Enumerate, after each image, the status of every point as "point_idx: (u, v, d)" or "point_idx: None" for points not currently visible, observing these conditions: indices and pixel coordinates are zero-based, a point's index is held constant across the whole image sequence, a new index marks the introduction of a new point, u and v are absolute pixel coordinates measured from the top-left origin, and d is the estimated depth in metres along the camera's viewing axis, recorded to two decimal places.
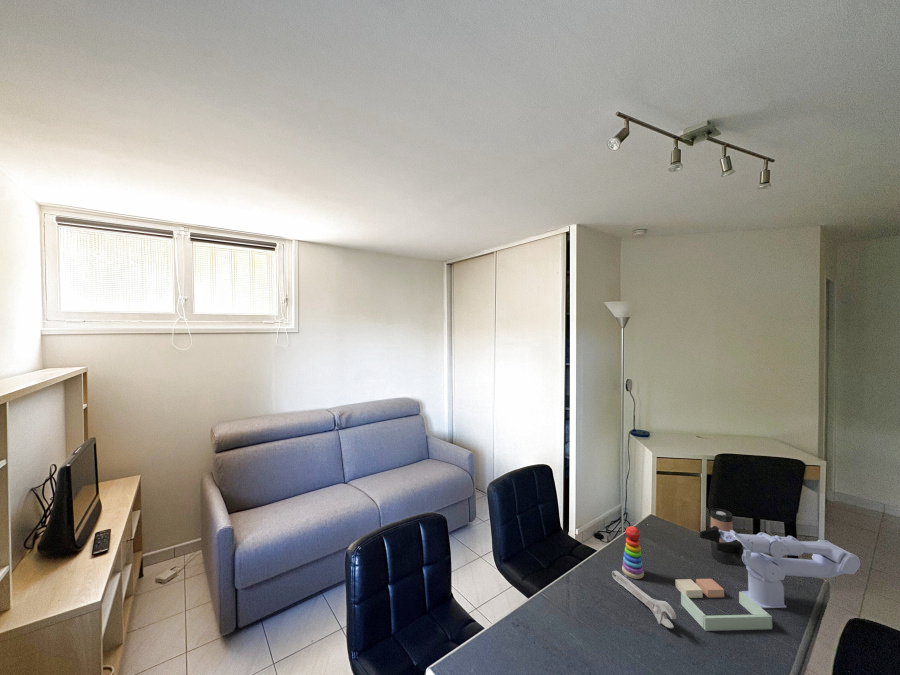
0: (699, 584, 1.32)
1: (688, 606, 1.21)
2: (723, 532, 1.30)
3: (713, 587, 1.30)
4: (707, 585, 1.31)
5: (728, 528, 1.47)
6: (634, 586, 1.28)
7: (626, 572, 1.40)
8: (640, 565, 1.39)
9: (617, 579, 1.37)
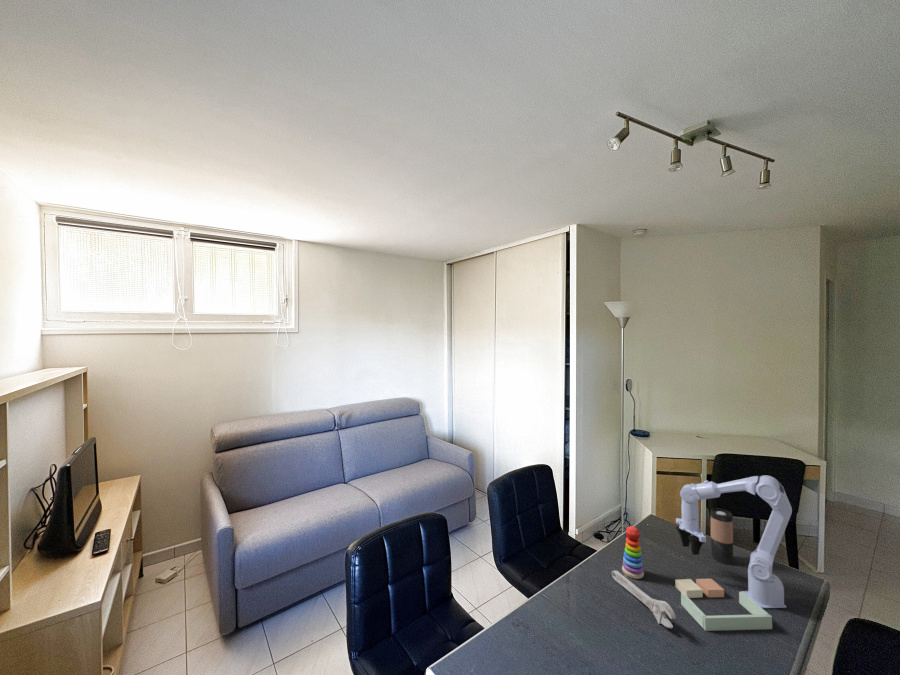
0: (699, 584, 1.32)
1: (688, 606, 1.21)
2: None
3: (713, 587, 1.30)
4: (707, 585, 1.30)
5: (728, 528, 1.47)
6: (634, 586, 1.29)
7: (626, 572, 1.40)
8: (640, 565, 1.39)
9: (617, 579, 1.37)
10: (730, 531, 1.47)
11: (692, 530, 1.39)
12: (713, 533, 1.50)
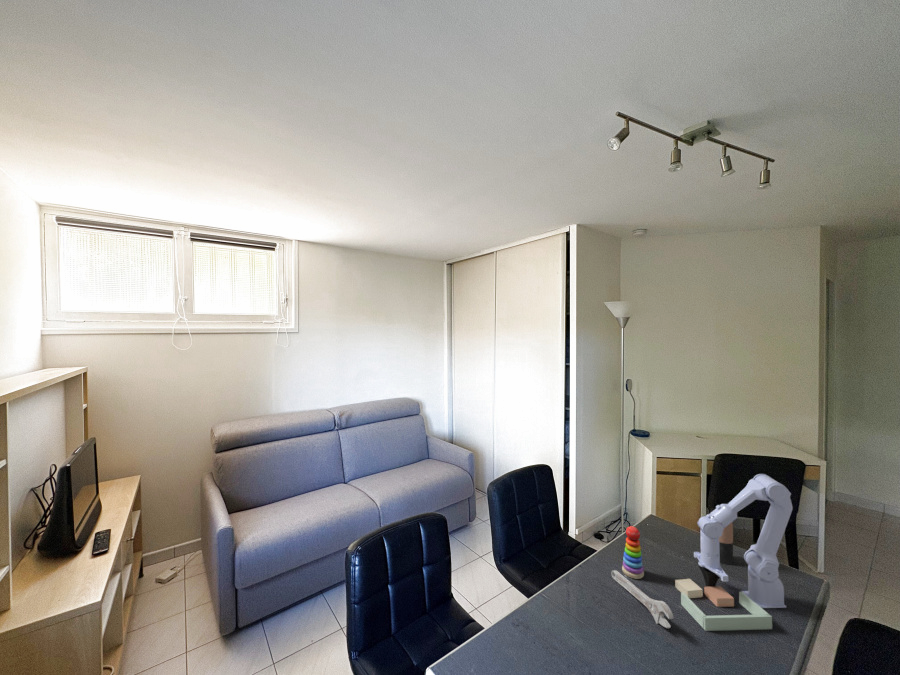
0: (708, 592, 1.28)
1: (688, 606, 1.21)
2: None
3: (722, 595, 1.25)
4: (716, 593, 1.26)
5: (728, 528, 1.47)
6: (633, 586, 1.29)
7: (626, 572, 1.40)
8: (640, 565, 1.39)
9: (616, 579, 1.37)
10: (730, 531, 1.47)
11: (713, 567, 1.28)
12: None
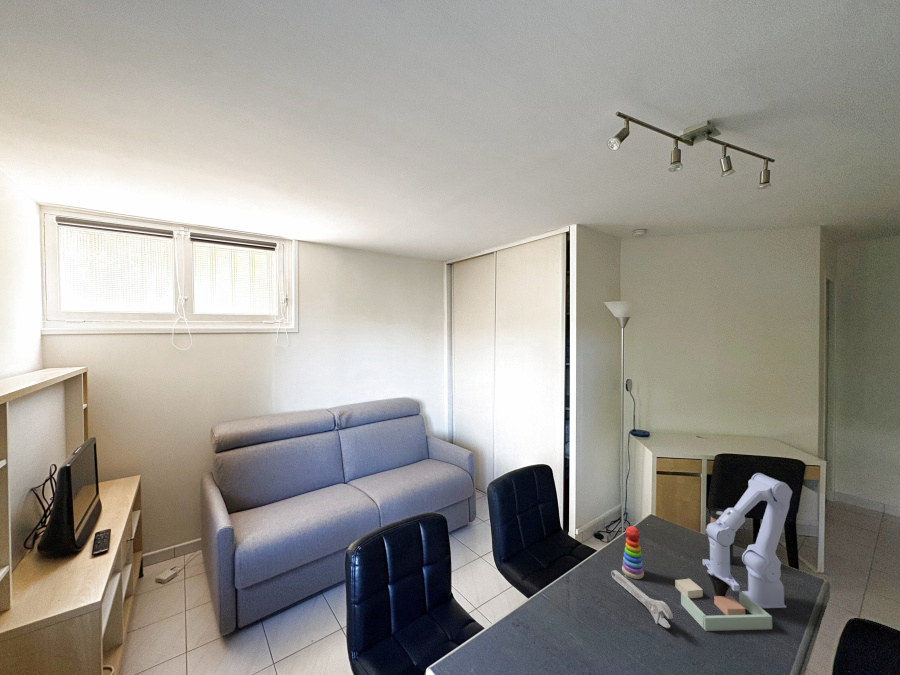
0: (718, 602, 1.23)
1: (688, 606, 1.21)
2: None
3: (733, 605, 1.21)
4: (727, 603, 1.21)
5: None
6: (633, 586, 1.29)
7: (626, 572, 1.40)
8: (640, 565, 1.39)
9: (616, 579, 1.37)
10: None
11: (723, 576, 1.24)
12: None
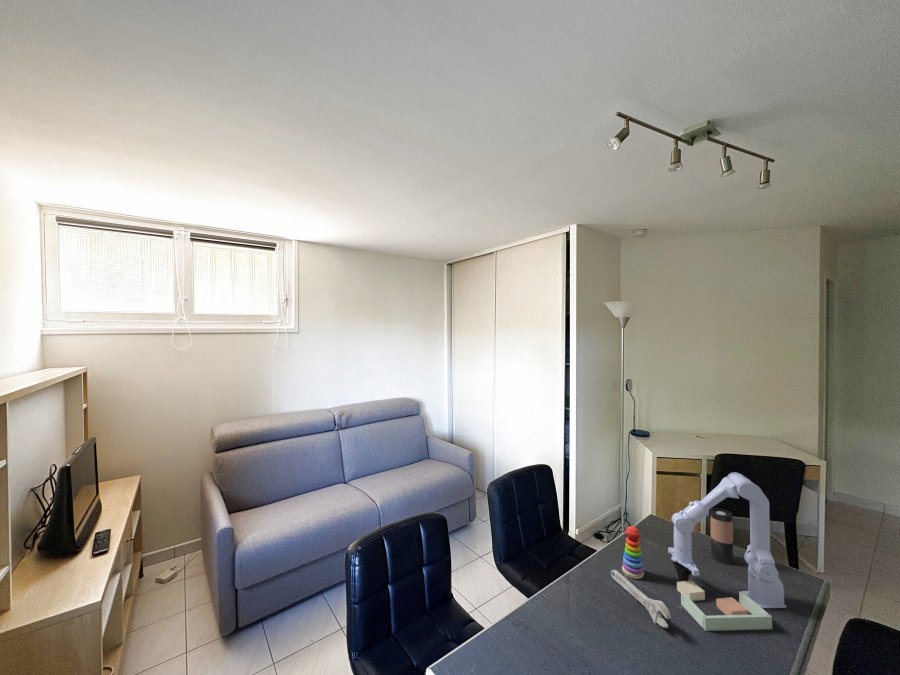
0: (720, 604, 1.22)
1: (688, 606, 1.21)
2: None
3: (736, 607, 1.20)
4: (730, 606, 1.20)
5: (728, 528, 1.47)
6: (631, 585, 1.29)
7: (626, 572, 1.40)
8: (640, 565, 1.39)
9: (616, 578, 1.37)
10: (730, 531, 1.47)
11: (685, 562, 1.31)
12: (713, 533, 1.50)
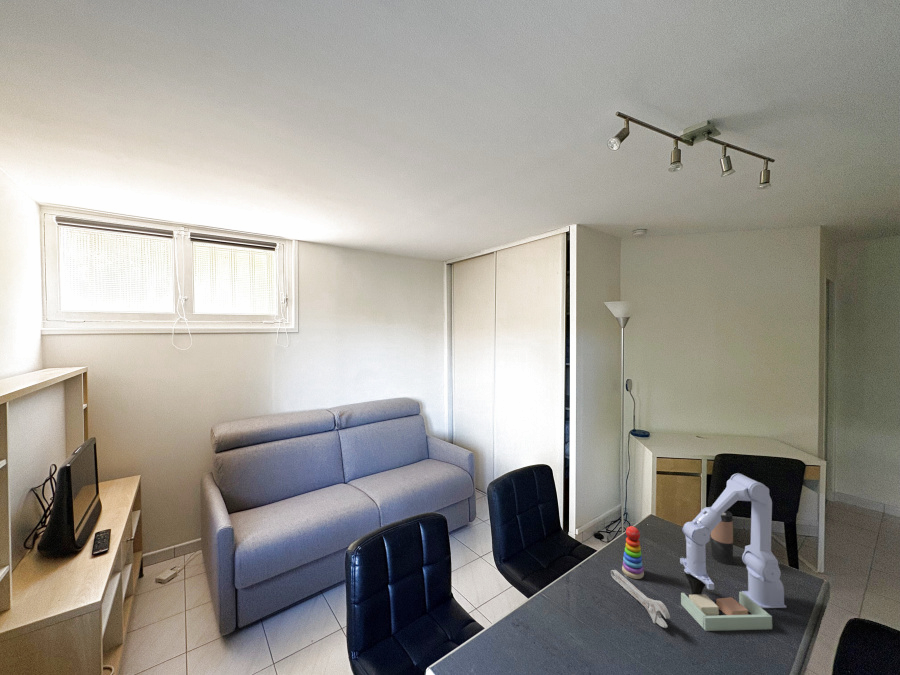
0: (720, 604, 1.22)
1: (688, 606, 1.21)
2: None
3: (736, 607, 1.20)
4: (730, 606, 1.20)
5: (728, 528, 1.47)
6: (631, 585, 1.29)
7: (626, 572, 1.40)
8: (640, 565, 1.39)
9: (616, 578, 1.37)
10: (730, 531, 1.47)
11: (698, 574, 1.24)
12: (713, 533, 1.50)
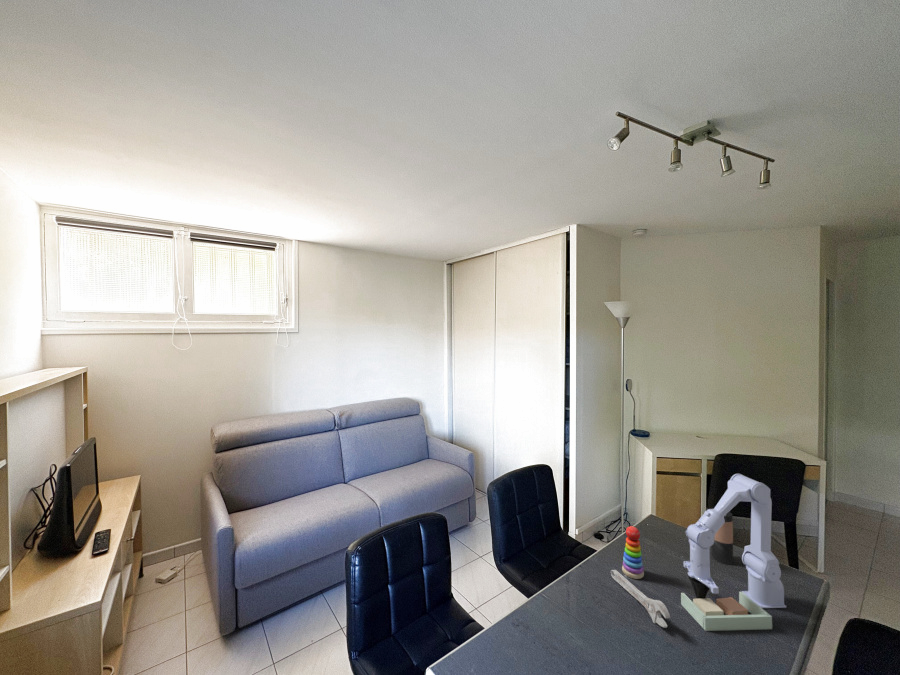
0: (720, 605, 1.22)
1: (688, 606, 1.21)
2: None
3: (736, 607, 1.20)
4: (730, 606, 1.20)
5: (728, 528, 1.47)
6: (631, 585, 1.29)
7: (626, 572, 1.40)
8: (640, 565, 1.39)
9: (615, 578, 1.37)
10: (730, 531, 1.47)
11: (702, 578, 1.22)
12: None
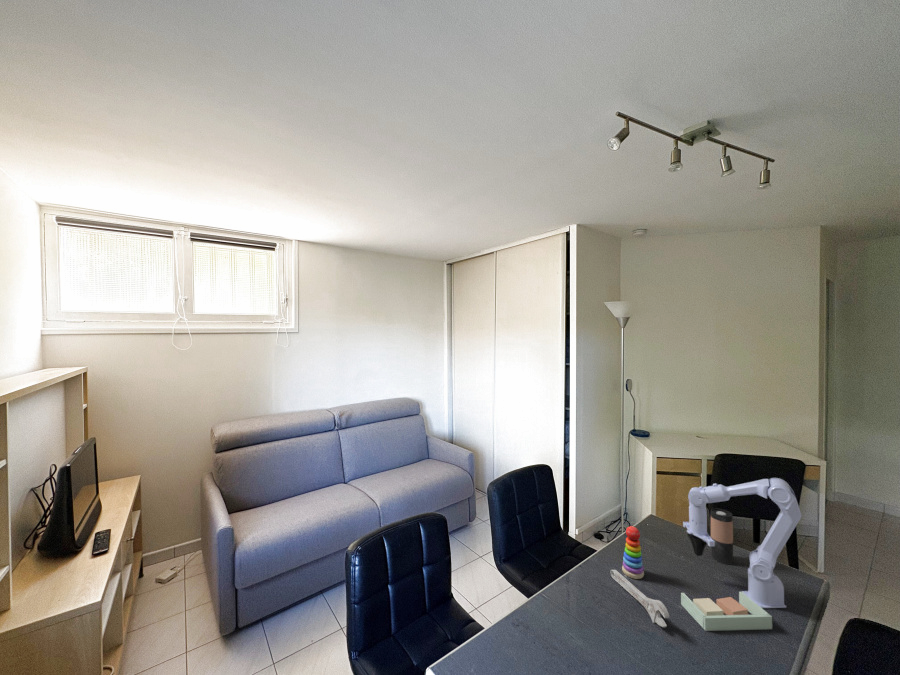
0: (721, 605, 1.22)
1: (688, 606, 1.21)
2: None
3: (736, 607, 1.20)
4: (730, 606, 1.20)
5: (728, 528, 1.47)
6: (631, 585, 1.29)
7: (626, 572, 1.40)
8: (640, 565, 1.39)
9: (615, 578, 1.37)
10: (730, 531, 1.47)
11: (700, 534, 1.36)
12: (713, 533, 1.50)
